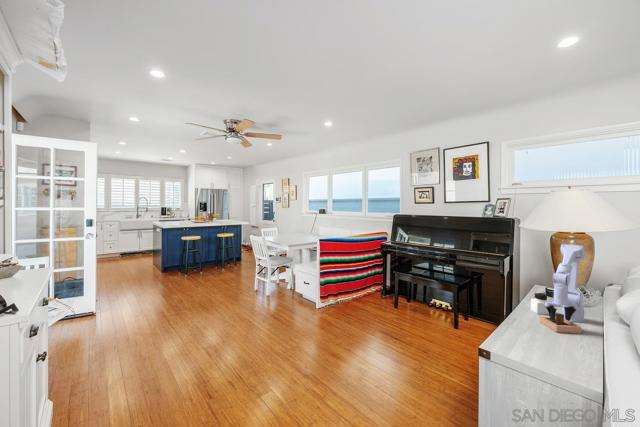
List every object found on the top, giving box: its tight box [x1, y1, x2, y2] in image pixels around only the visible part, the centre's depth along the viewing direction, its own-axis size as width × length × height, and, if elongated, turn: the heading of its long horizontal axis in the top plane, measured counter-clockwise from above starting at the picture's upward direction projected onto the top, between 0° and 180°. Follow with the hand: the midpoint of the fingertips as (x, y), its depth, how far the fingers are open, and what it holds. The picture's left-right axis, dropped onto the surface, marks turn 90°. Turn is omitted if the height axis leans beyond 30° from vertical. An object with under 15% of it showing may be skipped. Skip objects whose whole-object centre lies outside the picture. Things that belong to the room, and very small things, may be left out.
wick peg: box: [555, 312, 564, 325], centre depth 145 cm, size 3×3×7 cm
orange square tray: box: [539, 316, 582, 335], centre depth 145 cm, size 12×12×4 cm
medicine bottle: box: [530, 292, 550, 316], centre depth 166 cm, size 7×7×12 cm
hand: (559, 319), depth 145 cm, fingers open, 7 cm apart
